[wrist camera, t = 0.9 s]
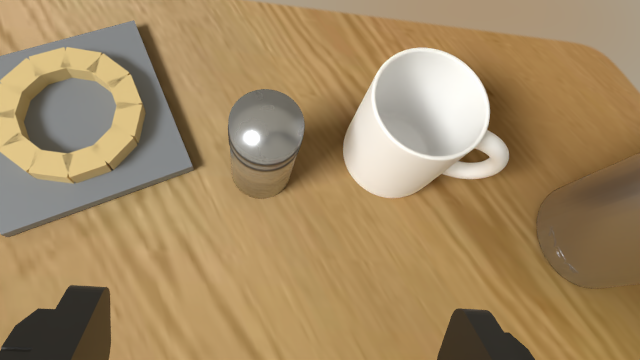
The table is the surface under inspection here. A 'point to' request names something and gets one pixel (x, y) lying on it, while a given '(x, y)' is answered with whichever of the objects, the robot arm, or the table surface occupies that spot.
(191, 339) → the table surface
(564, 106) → the table surface
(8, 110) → the ring block
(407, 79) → the mug
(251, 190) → the piston
